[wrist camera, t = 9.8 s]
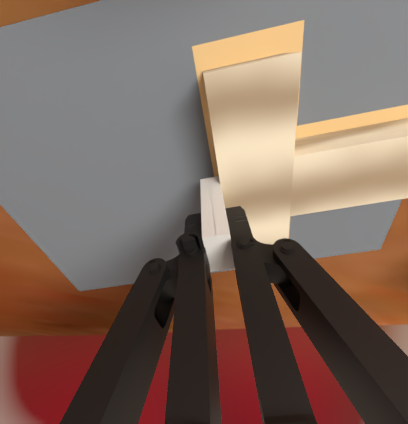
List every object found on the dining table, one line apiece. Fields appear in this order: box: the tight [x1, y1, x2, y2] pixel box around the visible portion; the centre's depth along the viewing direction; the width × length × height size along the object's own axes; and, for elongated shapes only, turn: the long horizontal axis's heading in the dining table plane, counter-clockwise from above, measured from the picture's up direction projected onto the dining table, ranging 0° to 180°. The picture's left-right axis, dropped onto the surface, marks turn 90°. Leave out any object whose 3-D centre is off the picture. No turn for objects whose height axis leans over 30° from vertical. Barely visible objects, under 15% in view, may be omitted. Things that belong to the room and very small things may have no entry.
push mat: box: [0, 0, 408, 291], centre depth 18 cm, size 24×36×1 cm, turn 101°
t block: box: [202, 52, 408, 245], centre depth 16 cm, size 16×15×3 cm
